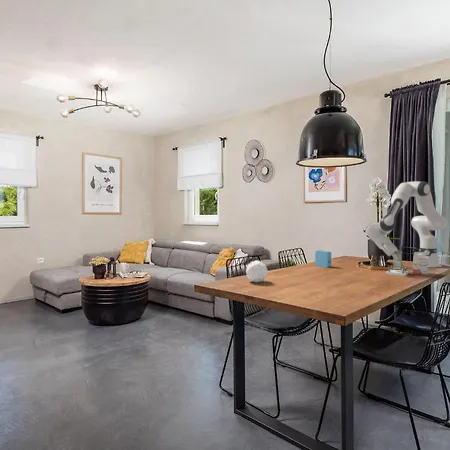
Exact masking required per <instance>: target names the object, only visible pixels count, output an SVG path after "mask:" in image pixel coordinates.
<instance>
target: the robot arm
mask: <svg viewBox="0 0 450 450" xmlns="http://www.w3.org/2000/svg"><path fill="white" fill-rule="evenodd" d="M411 197H415V201H416V202H415V203H416V207H417V208H416V209H417V211H418V212H419V213H420V214H422V215H417V216H413V217H412V218H411V221H410V223H411V226H412V228H413V229H414V230H415V231H416V233H417V234H418V236H419V249H418V252H426V257H429V266H428V268H442V267H443V266H442V265H441V264H440V258H439V257H440V256H439V255H438V254H437V253H438V249H437V237H436V236H434V235H433V234H432V233H431V232H430V231H443V230H445V229H447V226H448V220H447V218H446V217H445V216H443V215H441V214H440V213H439V212H438V211H437V209H436V207H435V203H434V199H433V195H432V193H431V185H430V184H429V182H426V181H418V180H417V181H415V180H414V181H404V182H401V183H400V184H399V185H397V187H396V189H395V190H394V191H393V194H392V196H391V199H390V208H389V210H388V211H387V213H386V215H384V216H383V217H381V219H380V221H379V222H375V223H373V222H372V223H369V224H368V225H367V226H366V228H365V231H364V232H365V234H366V236H367V237H368V238H369V239H370V241H373V243H375V245H376V246H377V247H378V248H379V249H380V250H382V251H383V252H384V253H385V254H386V255H387V256H388V257H390V256H392V257H394V258H395V259H398V258H399V257H398V256H396V255H395V253H394V252H395V251H399V249H398V247H396V245H395V244H394V243H393V242H392V240H391V239H390V238H389V237H387V235H389V234H390V233H391V232H392V231H393V229H394V228H396V224H397V217H398V215H399V213H400V211H401V209H403V208H405V206H406V205H407V203H408V202H409V200H410V199H411ZM418 255H422V254H418Z"/></svg>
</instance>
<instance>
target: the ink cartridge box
mask: <svg viewBox="0 0 450 450" xmlns="http://www.w3.org/2000/svg"><path fill="white" fill-rule="evenodd" d="M418 254H422V255H418ZM428 266H429V257H426V252H419V251H414V252H413V261H412V273H413V274H415V275H429V267H428Z"/></svg>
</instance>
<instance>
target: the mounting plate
mask: <svg viewBox="0 0 450 450" xmlns="http://www.w3.org/2000/svg"><path fill="white" fill-rule="evenodd" d="M385 274H386V275H392V276H400V277H406V276H408V274H409V270H406V271H404V273H402V269H393V270H391V268H390V272H388V270H387V271H386V272H385Z"/></svg>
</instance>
